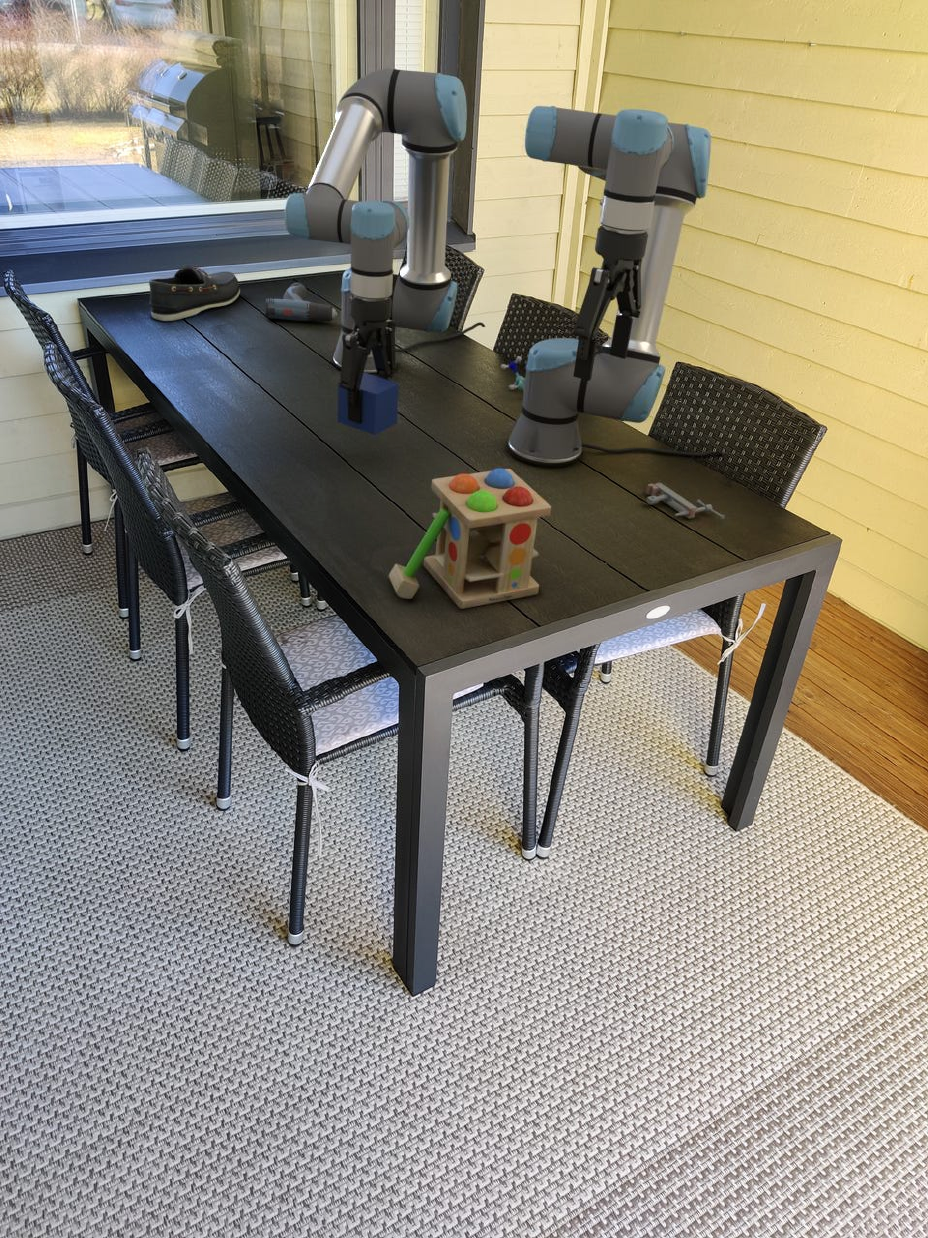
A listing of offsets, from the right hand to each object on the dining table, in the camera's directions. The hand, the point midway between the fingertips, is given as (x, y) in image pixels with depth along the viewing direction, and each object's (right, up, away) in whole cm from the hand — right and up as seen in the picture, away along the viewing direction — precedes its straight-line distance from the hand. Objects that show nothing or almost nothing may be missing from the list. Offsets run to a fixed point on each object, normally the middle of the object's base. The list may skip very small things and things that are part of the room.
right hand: (600, 367), depth 157 cm
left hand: (-41, -1, +32) cm, 52 cm away
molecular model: (-8, +13, +75) cm, 77 cm away
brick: (-41, -2, +33) cm, 52 cm away
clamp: (+19, -19, +31) cm, 41 cm away
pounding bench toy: (-23, -35, +2) cm, 42 cm away
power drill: (-65, +43, +110) cm, 135 cm away
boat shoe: (-94, +44, +108) cm, 150 cm away
